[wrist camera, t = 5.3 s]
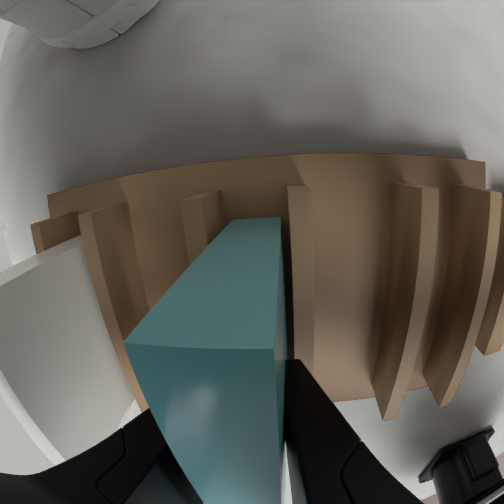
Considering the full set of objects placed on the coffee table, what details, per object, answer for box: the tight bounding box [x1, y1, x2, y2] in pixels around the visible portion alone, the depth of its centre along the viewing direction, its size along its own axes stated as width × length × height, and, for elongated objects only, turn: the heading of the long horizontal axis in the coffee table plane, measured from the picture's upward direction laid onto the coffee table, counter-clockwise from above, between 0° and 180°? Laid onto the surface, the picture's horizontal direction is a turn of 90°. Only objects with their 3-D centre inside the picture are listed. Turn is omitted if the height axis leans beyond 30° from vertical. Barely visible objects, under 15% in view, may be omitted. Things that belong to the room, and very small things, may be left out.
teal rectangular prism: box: [123, 217, 288, 504], centre depth 7 cm, size 7×2×7 cm, turn 5°
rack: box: [30, 153, 502, 421], centre depth 10 cm, size 11×19×4 cm, turn 95°
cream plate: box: [0, 235, 135, 466], centre depth 8 cm, size 7×2×7 cm, turn 5°
